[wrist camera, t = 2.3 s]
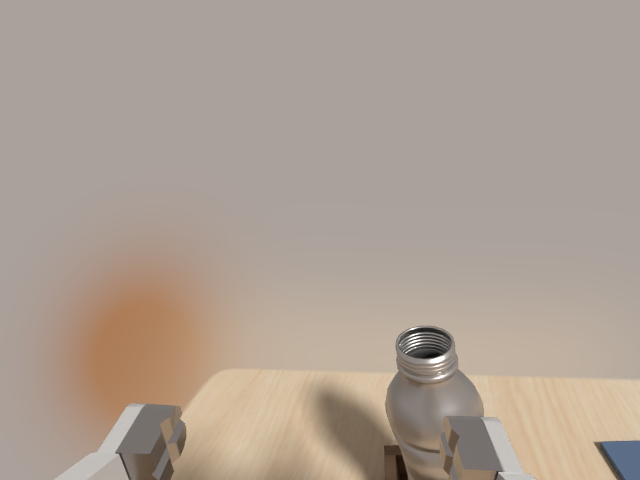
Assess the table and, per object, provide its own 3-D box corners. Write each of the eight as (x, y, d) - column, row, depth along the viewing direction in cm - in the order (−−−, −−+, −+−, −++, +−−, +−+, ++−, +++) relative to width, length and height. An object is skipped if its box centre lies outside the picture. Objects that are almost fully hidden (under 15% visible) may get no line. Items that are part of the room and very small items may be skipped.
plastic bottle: (508, 592, 26) (493, 375, 19) (413, 581, 28) (369, 379, 21) (487, 500, 32) (470, 309, 25) (410, 495, 33) (375, 317, 27)
